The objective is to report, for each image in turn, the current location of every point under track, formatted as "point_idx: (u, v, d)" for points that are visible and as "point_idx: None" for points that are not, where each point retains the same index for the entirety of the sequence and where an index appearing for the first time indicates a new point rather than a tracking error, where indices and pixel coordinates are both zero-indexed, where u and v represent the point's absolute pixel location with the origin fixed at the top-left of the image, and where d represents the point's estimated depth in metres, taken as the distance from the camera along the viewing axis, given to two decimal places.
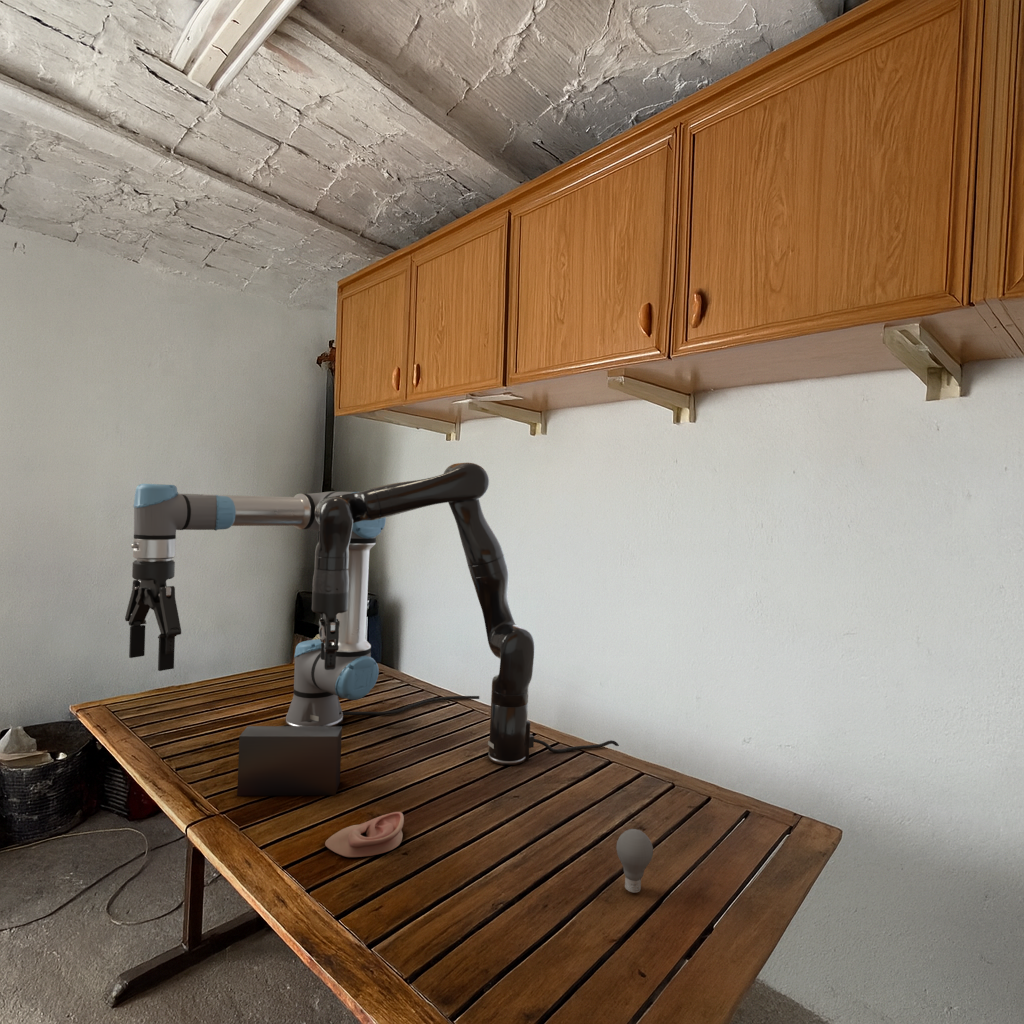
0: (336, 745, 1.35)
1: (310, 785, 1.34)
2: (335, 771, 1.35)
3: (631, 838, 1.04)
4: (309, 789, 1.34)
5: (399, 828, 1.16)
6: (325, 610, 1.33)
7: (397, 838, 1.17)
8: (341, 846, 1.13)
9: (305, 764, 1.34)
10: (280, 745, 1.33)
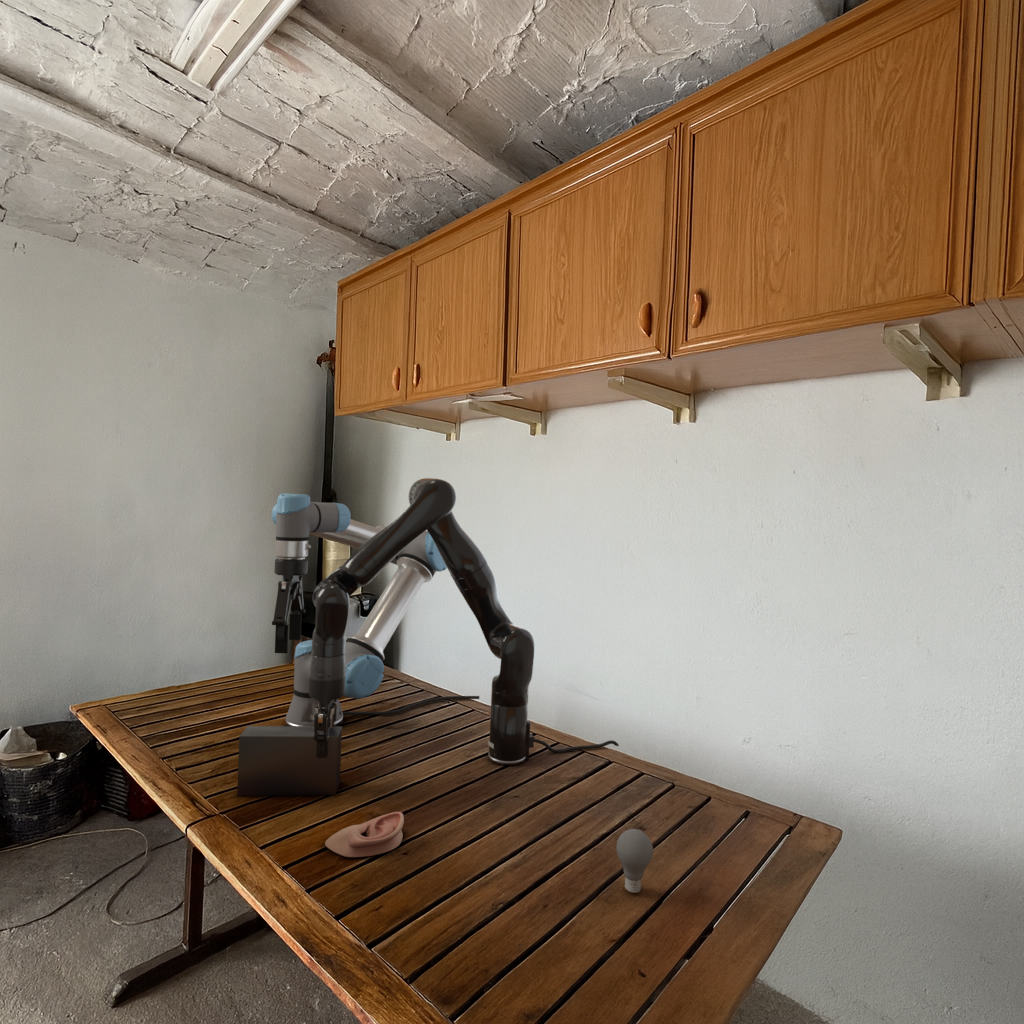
0: (336, 745, 1.35)
1: (310, 785, 1.34)
2: (335, 771, 1.35)
3: (631, 838, 1.04)
4: (309, 789, 1.34)
5: (399, 828, 1.16)
6: (317, 697, 1.33)
7: (397, 838, 1.17)
8: (341, 846, 1.13)
9: (305, 764, 1.34)
10: (280, 745, 1.33)
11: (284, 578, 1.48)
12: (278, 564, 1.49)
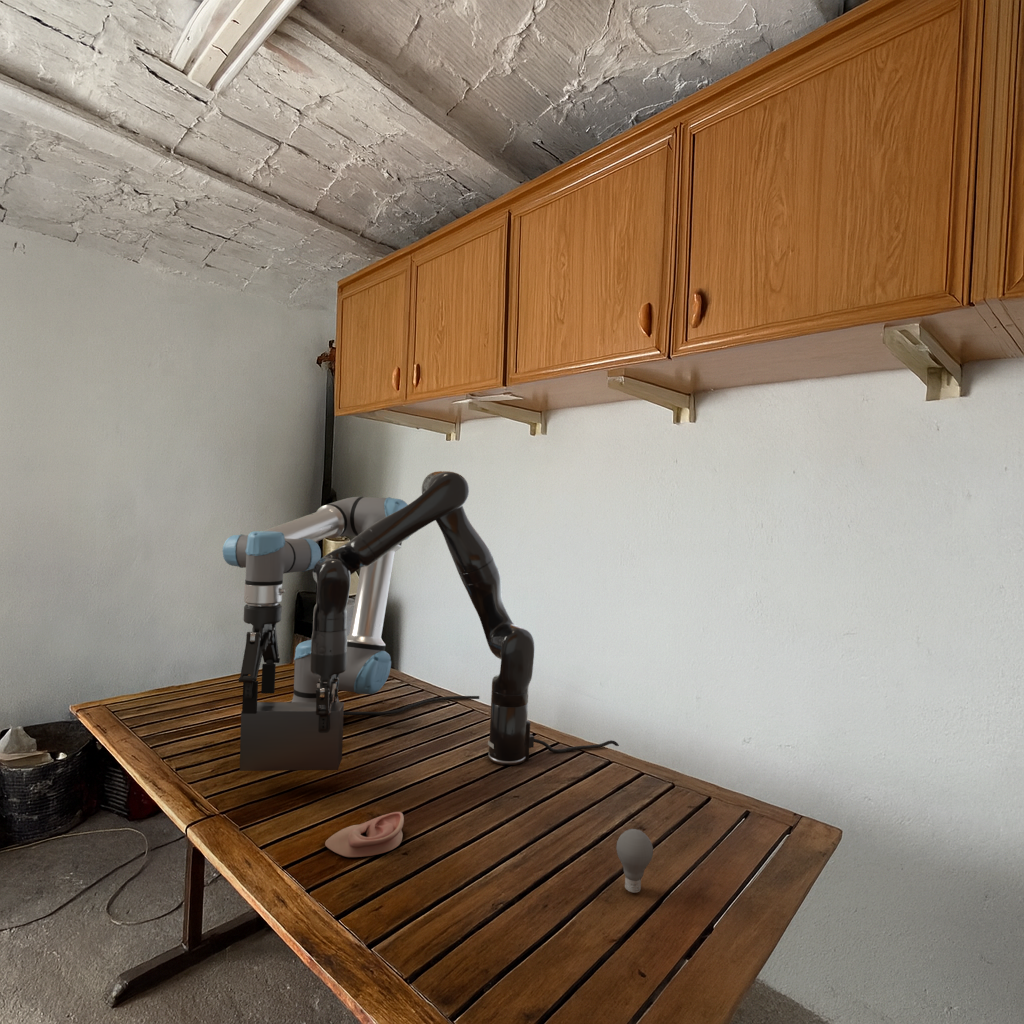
0: (338, 720, 1.35)
1: (312, 760, 1.34)
2: (337, 746, 1.35)
3: (631, 838, 1.04)
4: (312, 764, 1.34)
5: (399, 828, 1.16)
6: (319, 671, 1.33)
7: (397, 838, 1.17)
8: (341, 846, 1.13)
9: (307, 739, 1.34)
10: (282, 720, 1.33)
11: (254, 627, 1.32)
12: (247, 611, 1.32)
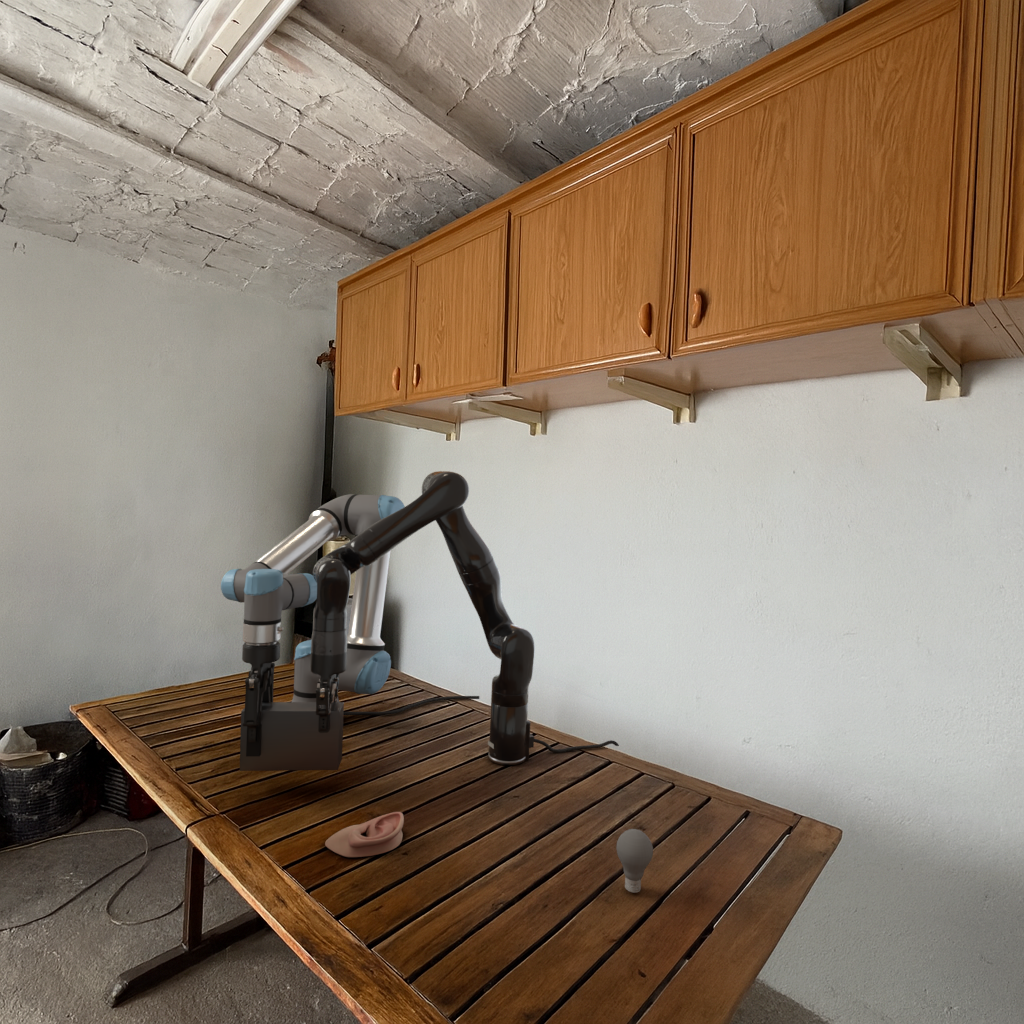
0: (338, 720, 1.35)
1: (312, 760, 1.34)
2: (337, 746, 1.35)
3: (631, 838, 1.04)
4: (312, 764, 1.34)
5: (399, 828, 1.16)
6: (319, 671, 1.33)
7: (397, 838, 1.17)
8: (341, 846, 1.13)
9: (307, 739, 1.34)
10: (282, 720, 1.33)
11: (252, 667, 1.32)
12: (245, 651, 1.32)
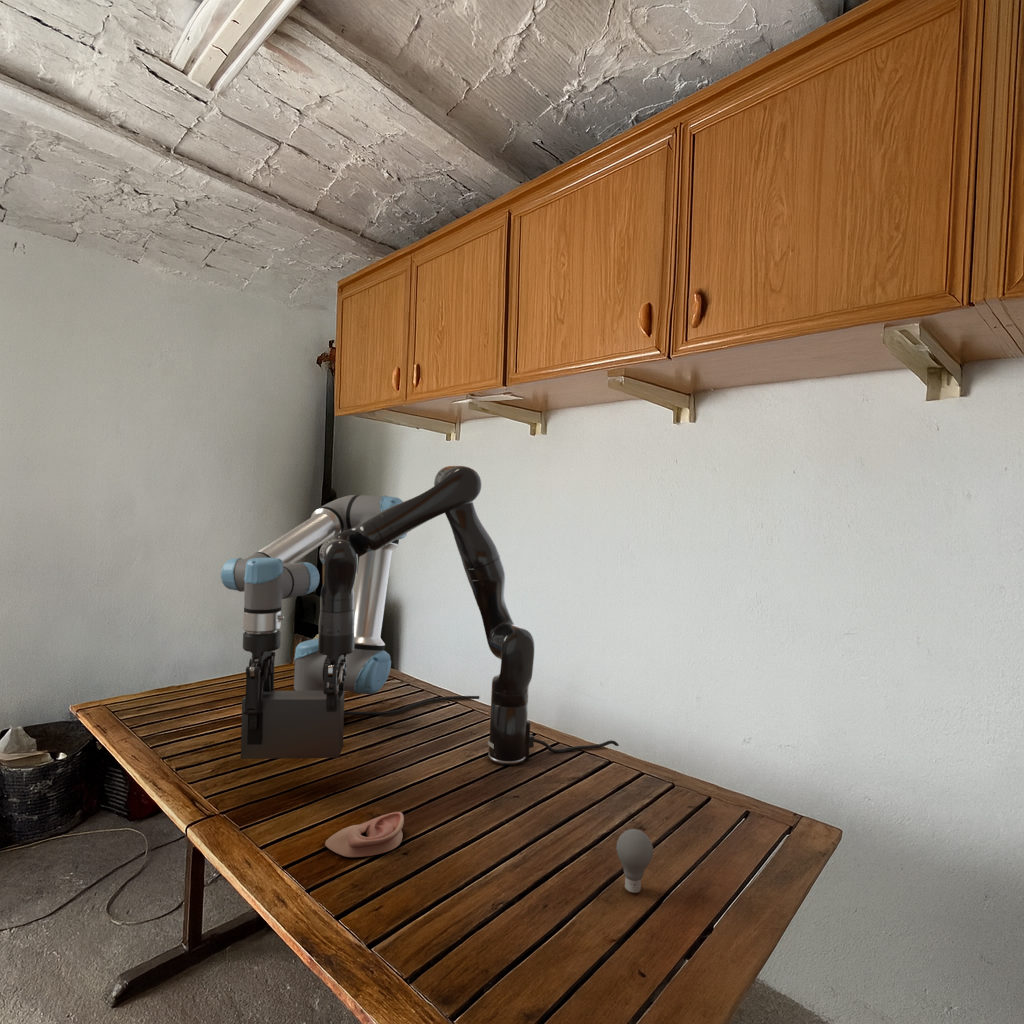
0: (339, 708, 1.35)
1: (313, 748, 1.34)
2: (338, 734, 1.35)
3: (631, 838, 1.04)
4: (313, 752, 1.34)
5: (399, 828, 1.16)
6: (327, 652, 1.33)
7: (397, 838, 1.17)
8: (341, 846, 1.13)
9: (308, 727, 1.34)
10: (283, 708, 1.33)
11: (253, 655, 1.32)
12: (246, 639, 1.32)
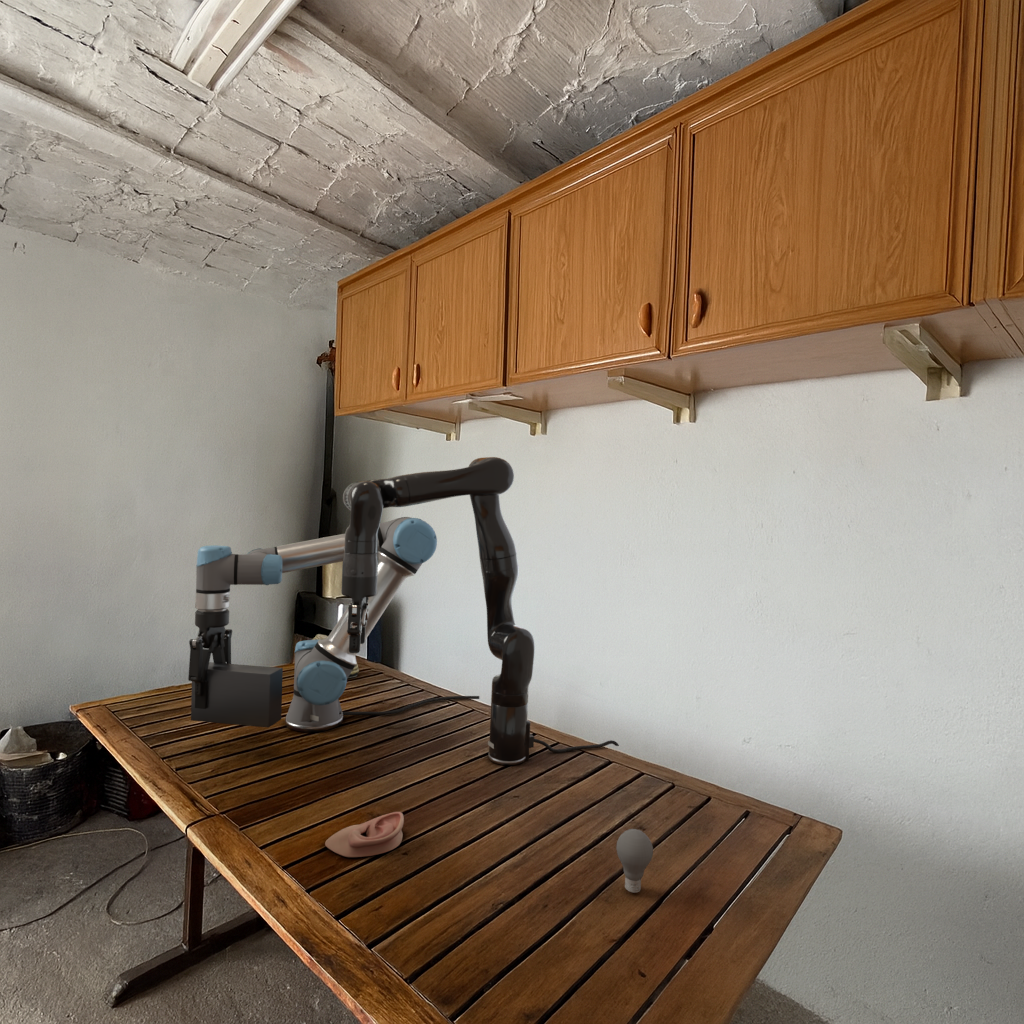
0: (269, 682, 1.49)
1: (248, 717, 1.50)
2: (268, 706, 1.49)
3: (631, 838, 1.04)
4: (247, 720, 1.50)
5: (399, 828, 1.16)
6: (351, 593, 1.34)
7: (397, 838, 1.17)
8: (341, 846, 1.13)
9: (244, 698, 1.50)
10: (224, 678, 1.51)
11: (199, 630, 1.51)
12: (195, 616, 1.52)
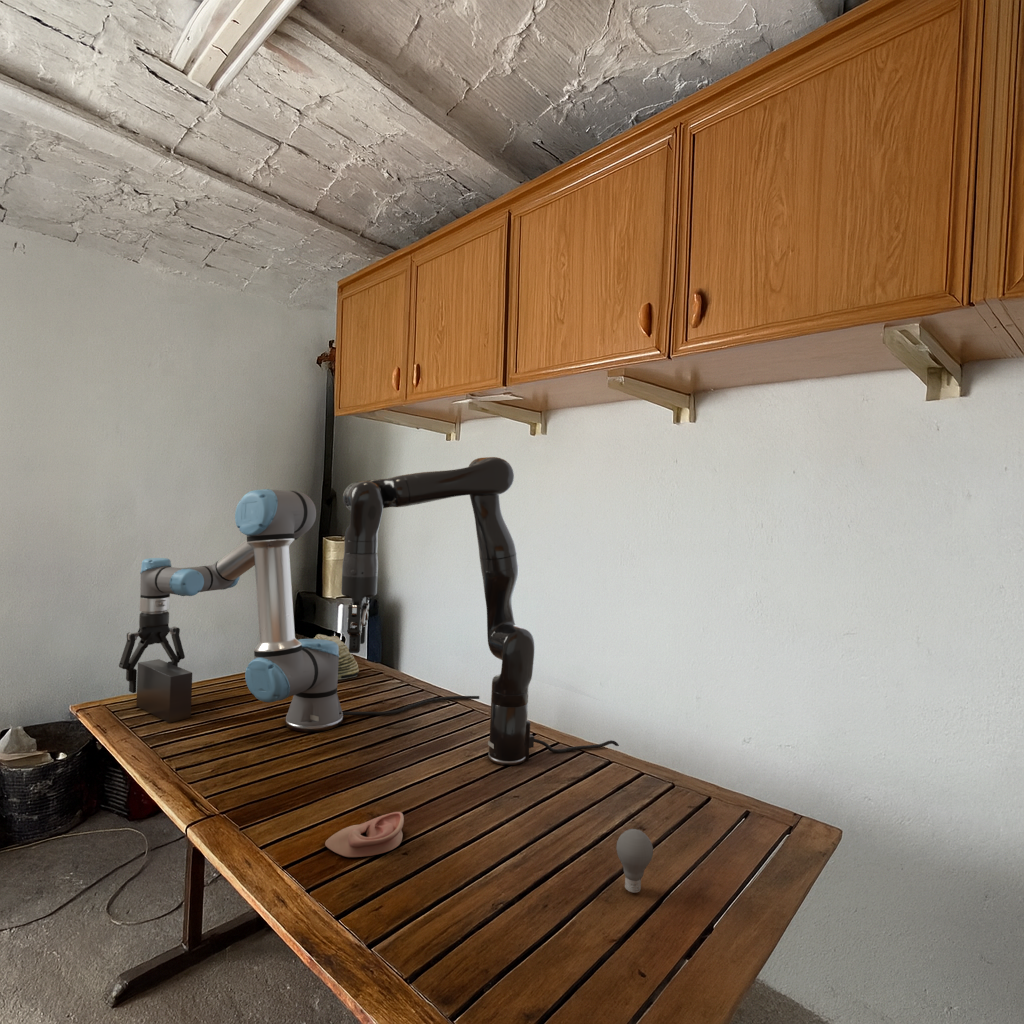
0: (170, 683, 1.71)
1: (160, 710, 1.75)
2: (169, 704, 1.72)
3: (631, 838, 1.04)
4: (159, 714, 1.75)
5: (399, 828, 1.16)
6: (351, 593, 1.34)
7: (397, 838, 1.17)
8: (341, 846, 1.13)
9: (158, 693, 1.75)
10: (150, 675, 1.78)
11: (139, 628, 1.81)
12: None
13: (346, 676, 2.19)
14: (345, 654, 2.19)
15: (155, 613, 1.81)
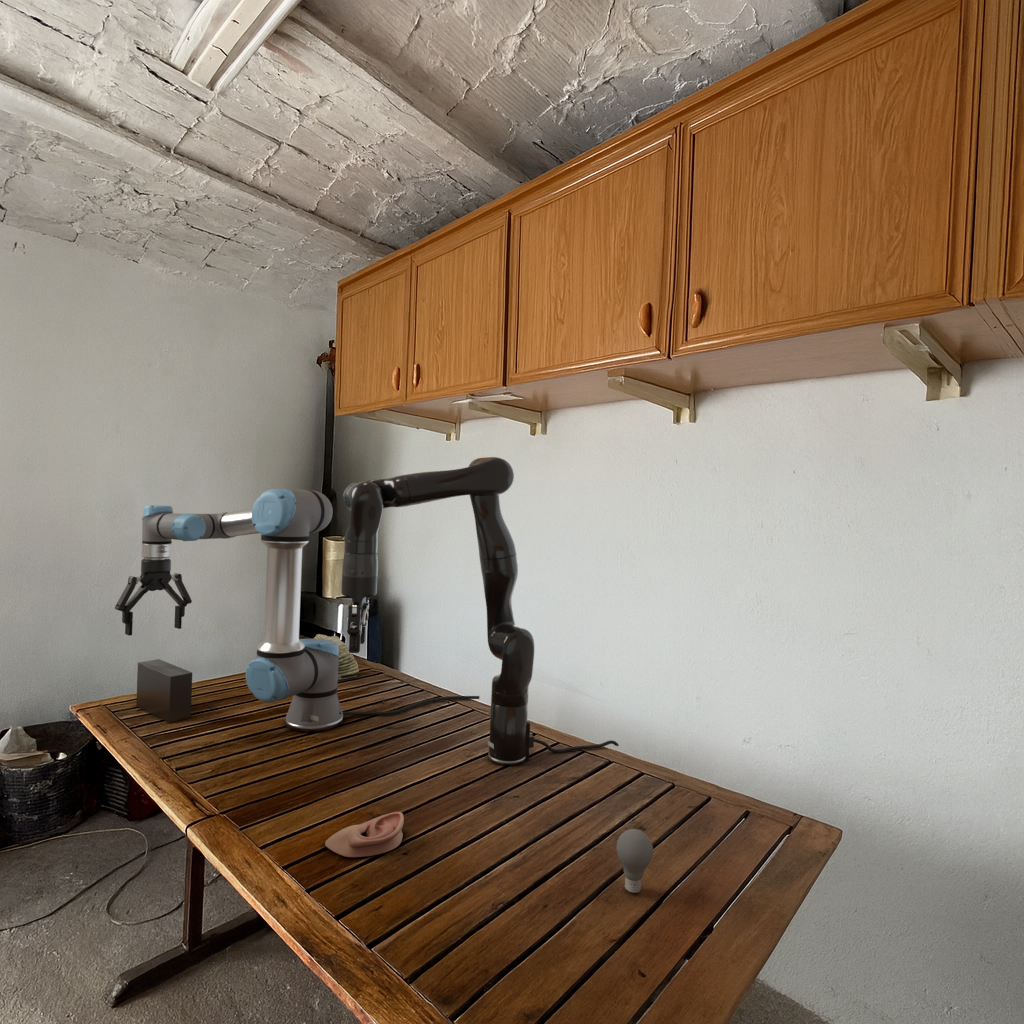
0: (170, 683, 1.71)
1: (160, 710, 1.75)
2: (169, 704, 1.72)
3: (631, 838, 1.04)
4: (159, 714, 1.75)
5: (399, 828, 1.16)
6: (351, 593, 1.34)
7: (397, 838, 1.17)
8: (341, 846, 1.13)
9: (158, 693, 1.75)
10: (150, 675, 1.78)
11: (141, 574, 1.81)
12: None
13: (346, 676, 2.19)
14: (345, 654, 2.19)
15: (157, 559, 1.81)
